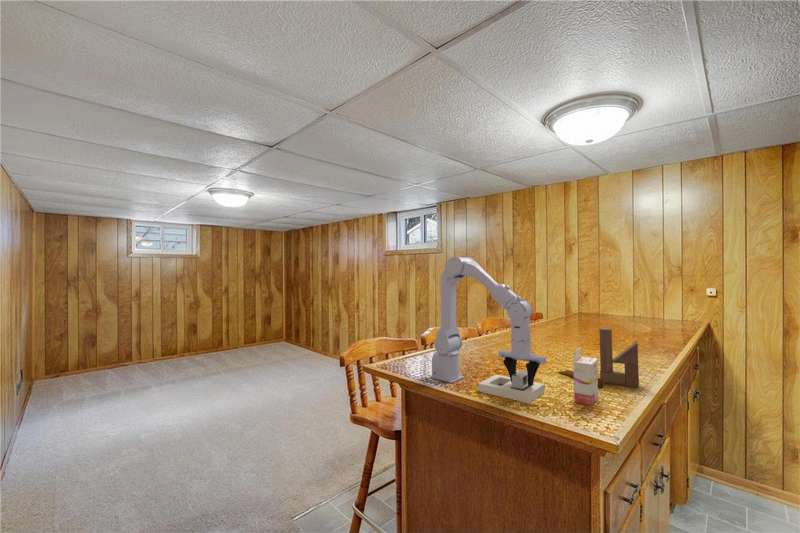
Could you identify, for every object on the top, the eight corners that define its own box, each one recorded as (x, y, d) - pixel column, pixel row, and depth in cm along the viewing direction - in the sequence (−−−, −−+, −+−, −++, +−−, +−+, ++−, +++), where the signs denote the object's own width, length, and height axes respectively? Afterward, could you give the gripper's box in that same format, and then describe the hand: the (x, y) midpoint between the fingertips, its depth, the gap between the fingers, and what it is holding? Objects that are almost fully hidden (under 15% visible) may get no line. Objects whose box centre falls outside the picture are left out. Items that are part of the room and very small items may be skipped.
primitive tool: (556, 373, 130) (556, 363, 130) (569, 372, 131) (568, 362, 131) (595, 390, 111) (595, 379, 111) (610, 389, 113) (610, 378, 113)
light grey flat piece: (478, 391, 112) (478, 383, 112) (496, 381, 121) (496, 374, 121) (528, 403, 101) (528, 394, 101) (544, 392, 110) (544, 384, 110)
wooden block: (639, 387, 112) (637, 331, 112) (600, 383, 117) (598, 329, 117) (637, 384, 115) (636, 329, 115) (600, 380, 120) (598, 327, 120)
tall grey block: (512, 394, 107) (511, 375, 107) (521, 388, 112) (521, 370, 112) (523, 397, 105) (522, 377, 105) (532, 391, 110) (532, 371, 110)
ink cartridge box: (593, 406, 98) (591, 353, 98) (573, 402, 101) (572, 351, 101) (599, 397, 104) (597, 348, 104) (580, 394, 107) (579, 346, 108)
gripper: (549, 340, 107) (550, 385, 107) (504, 335, 117) (505, 376, 116) (540, 344, 102) (541, 391, 101) (494, 338, 111) (495, 381, 111)
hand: (522, 383), depth 109 cm, fingers open, 5 cm apart
